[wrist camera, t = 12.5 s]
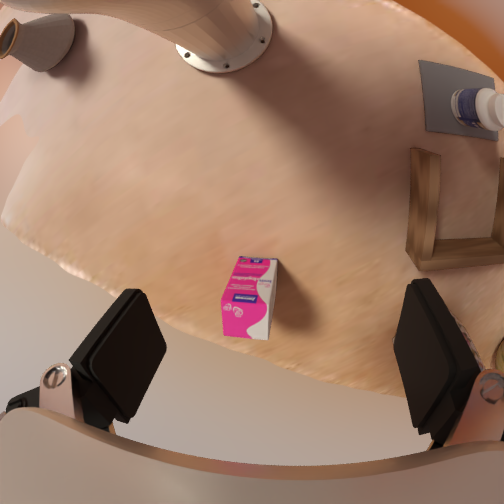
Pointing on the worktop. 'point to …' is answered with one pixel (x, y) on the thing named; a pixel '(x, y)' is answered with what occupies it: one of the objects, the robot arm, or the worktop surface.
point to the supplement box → (250, 298)
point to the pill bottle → (479, 108)
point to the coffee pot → (38, 41)
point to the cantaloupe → (500, 358)
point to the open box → (425, 218)
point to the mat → (440, 93)
